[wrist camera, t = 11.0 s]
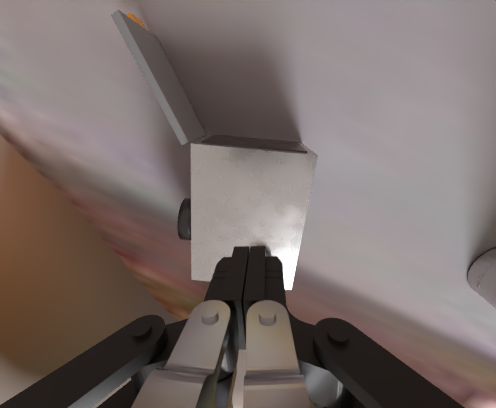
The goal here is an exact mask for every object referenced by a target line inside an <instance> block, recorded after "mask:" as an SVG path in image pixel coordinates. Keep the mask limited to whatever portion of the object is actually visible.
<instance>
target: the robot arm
mask: <svg viewBox="0 0 496 408" xmlns="http://www.w3.org/2000/svg"><path fill="white" fill-rule="evenodd" d="M468 283H469V285H470V287H471V288H472V289H473V290H474V291H476V292H477V293H478V294H479V295H480V296H482V297H483V298H484V299H485V300H486V301H488V302H489V303H490V304H491V305H492V306H493V307H495V308H496V248H495V249H492V250H490V251H488V252H486V253H484V254H483V255H482V256H480V257H479V258H478V259H477V260H476V261H475V262H474V263H473V265H472V266H471V268H470V270H469V272H468ZM239 349H240V350H246V375H245V376H244V388H243V408H311V406H310V401H312V402H313V404H314V406H315V408H464V407H463V406H462V405H460V404H459V403H457V402H456V401H455V400H453V399H452V398H451V397H449V396H448V395H447V394H445V393H444V392H443V391H441V390H440V389H439V388H437V387H436V386H434V385H433V384H432V383H430V382H429V381H428V380H426V379H425V378H424V377H422V376H421V375H420V374H418V373H417V372H415V371H414V370H413V369H411V368H410V367H409V366H407V365H406V364H405V363H403V362H402V361H401V360H399V359H398V358H396V357H395V356H394V355H392V354H391V353H390V352H388V351H387V350H386V349H384V348H383V347H382V346H380V345H379V344H377V343H376V342H375V341H373V340H372V339H371V338H369V337H368V336H367V335H365V334H364V333H363V332H361V331H360V330H358V329H357V328H356V327H354V326H353V325H352V324H350V323H348V322H346V321H344V320H342V319H338V318H326V319H323V320H321V321H319V322H318V323H317V324H316V325H312V324H308V323H305V322H302V321H300V320H298V319H297V318H295V317H294V316H293V315H292V314H291V313H290V312H289V310H288V309H287V306H286V297H285V287H284V277H283V267H282V262H281V261H280V259H279V258H278V257H277V256H266V246H235V247H234V249H233V253H232V257H223V258H222V259H221V260H220V261H219V262H218V263H217V265H216V267H215V270H214V273H213V276H212V279H211V282H210V285H209V288H208V291H207V293H206V296H205V299H204V302H203V303H201V304H199V305H198V306H196V307H195V308H194V309H193V311H192V312H191V314H190V316H189V318H188V319H185V320H182V321H179V322H175V323H171V324H168V325H165V323H164V320H163V319H162V318H161V317H159V316H157V315H147V316H143V317H141V318H138V319H136V320H135V321H133V322H131V323H129V324H128V325H126V326H125V327H123V328H121V329H120V330H118V331H117V332H115V333H114V334H112V335H110V336H109V337H107V338H106V339H104V340H103V341H101V342H99V343H98V344H96V345H95V346H93V347H91V348H90V349H88V350H87V351H85V352H84V353H82V354H80V355H79V356H77V357H76V358H74V359H73V360H71V361H69V362H68V363H66V364H65V365H63V366H61V367H60V368H58V369H57V370H55V371H54V372H52V373H50V374H49V375H47V376H46V377H44V378H42V379H41V380H39V381H38V382H36V383H35V384H33V385H31V386H30V387H28V388H27V389H25V390H24V391H22V392H20V393H19V394H17V395H16V396H14V397H13V398H11V399H9V400H8V401H6V402H5V403H3V404H1V405H0V408H92V407H93V406H94V405H96V404H97V403H98V402H99V401H101V400H102V399H103V398H104V397H106V396H107V395H108V394H109V393H111V392H112V391H113V390H115V389H116V388H117V387H119V386H120V385H121V384H122V383H124V382H125V381H126V380H127V379H128V378H130V377H131V381H130V382H128V383H127V384H126V385H125V386H123V387H122V388H121V389H119V390H118V391H117V392H116V393H115V394H113V395H112V396H111V397H109V398H108V399H107V400H106V401H104V402H103V403H102V404H101V405H99V406H98V407H97V408H230V406H231V400H232V395H233V390H234V385H235V380H236V375H237V361H238V353H239ZM309 400H310V401H309Z"/></svg>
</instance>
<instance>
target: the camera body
mask: <svg viewBox="0 0 496 408" xmlns="http://www.w3.org/2000/svg"><path fill="white" fill-rule="evenodd" d="M317 157H318V155H317V154H315V153H314V152H313V151H311V150H310V149H309V148H308V147H306V146H305V145H304V144H302V143H297V142H288V141H277V140H266V139H256V138H245V137H234V136H224V135H208V136H206V137H204V138H201V139H199V140H197V141H195V142H193V143H191V199H189V198H185V199H184V200H183V202H182V204H181V207H180V210H179V215H178V236H179V238H180V239H183V240H191V267H192V280H200V281H210V282H211V279H212V276H213V273H214V270H215V267H216V265H217V263H218V262H219V261H220V260H221V259H222V258H223V257H232V253H233V249H234V247H235V246H266V256H277V257H278V258H279V259H280V261H281V262H282V267H283V277H284V287H285V289H287V290H291V289H292V284H293V279H294V274H295V269H296V264H297V259H298V254H299V249H300V244H301V238H302V233H303V228H304V223H305V218H306V213H307V208H308V203H309V198H310V193H311V187H312V182H313V177H314V172H315V167H316V162H317Z"/></svg>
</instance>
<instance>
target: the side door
mask: <svg viewBox="0 0 496 408" xmlns="http://www.w3.org/2000/svg"><path fill="white" fill-rule="evenodd" d="M111 17H112V18H113V20H114V22H115V24H116V26H117V28H118V29H119V31H120V33H121V35H122V37H123V39H124V40H125V42H126V44H127V46H128V48H129V50H130V51H131V53H132V55H133V57H134V59H135V61H136V62H137V64H138V66H139V68H140V70H141V72H142V74H143V75H144V77H145V79H146V81H147V83H148V85H149V86H150V88H151V90H152V92H153V94H154V96H155V97H156V99H157V101H158V103H159V105H160V107H161V108H162V110H163V112H164V114H165V116H166V118H167V119H168V121H169V123H170V125H171V127H172V129H173V131H174V132H175V134H176V136H177V138H178V140H179V142H180V143H181V145H184V144H186V143H189V142H191V141H193V140H196V139H198V138H200V137H202V136H204V135H206V134H205V132H204V130H203V128H202V126H201V124H200V122H199V120H198V118H197V116H196V114H195V112H194V110H193V108H192V106H191V104H190V102H189V100H188V98H187V96H186V94H185V92H184V90H183V88H182V86H181V84H180V82H179V80H178V78H177V76H176V74H175V72H174V70H173V68H172V66H171V64H170V62H169V60H168V58H167V56H166V54H165V52H164V50H163V48H162V46H161V44H160V42H159V40H158V38H157V37H156V36H154V35H153V34H152V33H150V32H149V31H147V30H146V28H145V26H144V24H143V22H142V21H141V20H140V19H139V18H137V17H136V16H135V15H133V14H132V13H131V12H130V13H129V14H127V15H125V14H124V13H122V12H121V11H119V10H117V11H116V12H114V13H113V14H111Z"/></svg>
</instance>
